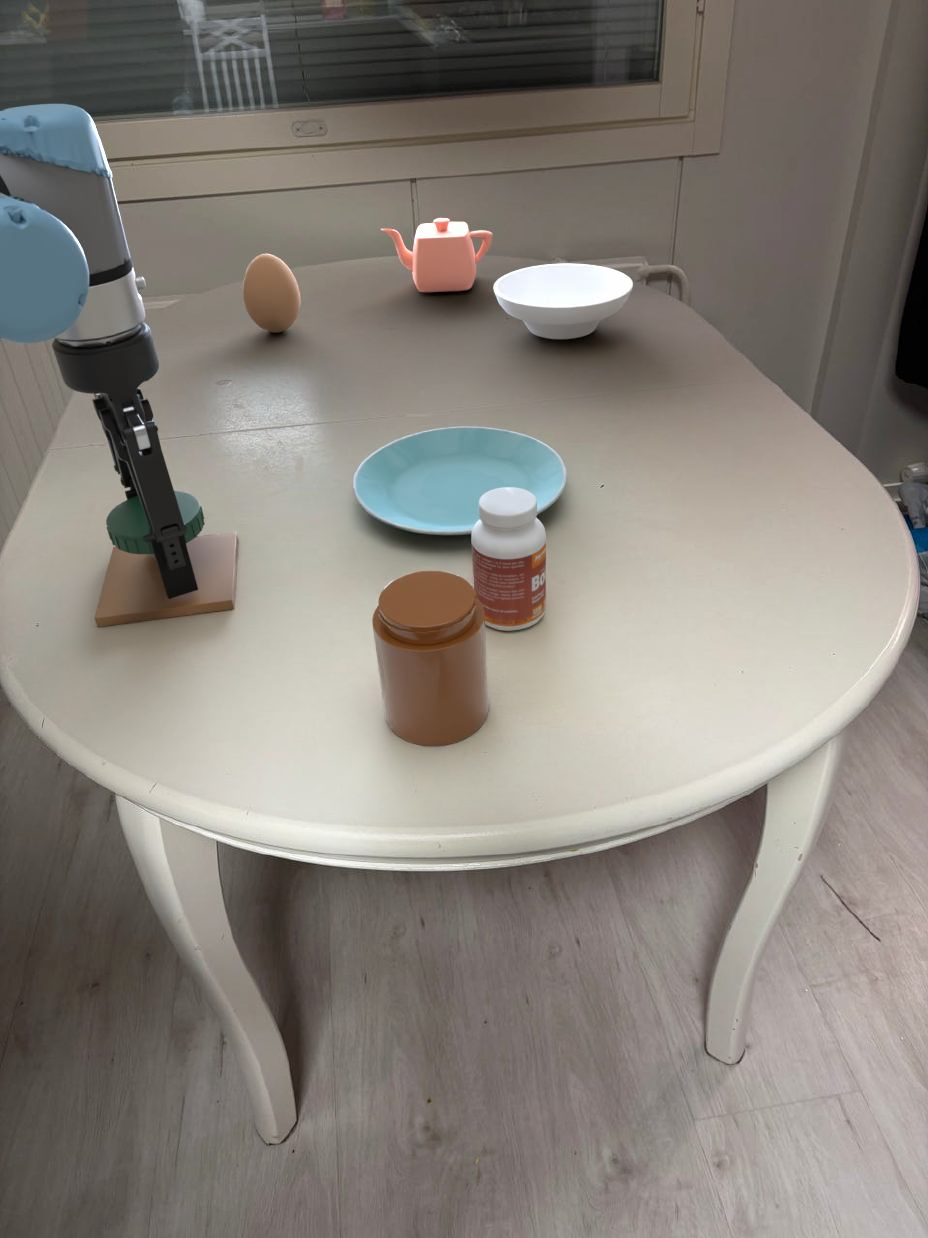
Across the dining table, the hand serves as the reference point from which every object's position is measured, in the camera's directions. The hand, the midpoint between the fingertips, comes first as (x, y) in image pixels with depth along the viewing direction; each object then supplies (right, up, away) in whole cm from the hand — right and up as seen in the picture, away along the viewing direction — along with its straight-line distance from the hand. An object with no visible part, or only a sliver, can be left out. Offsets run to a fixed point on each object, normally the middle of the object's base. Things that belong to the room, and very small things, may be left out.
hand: (169, 569), depth 86 cm
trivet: (0, -1, +1) cm, 1 cm away
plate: (+27, +8, +11) cm, 30 cm away
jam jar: (+25, -12, -15) cm, 32 cm away
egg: (-1, +39, +54) cm, 67 cm away
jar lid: (0, +5, -3) cm, 6 cm away
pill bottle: (+32, -4, -6) cm, 32 cm away
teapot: (+24, +51, +68) cm, 88 cm away
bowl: (+42, +37, +48) cm, 73 cm away
